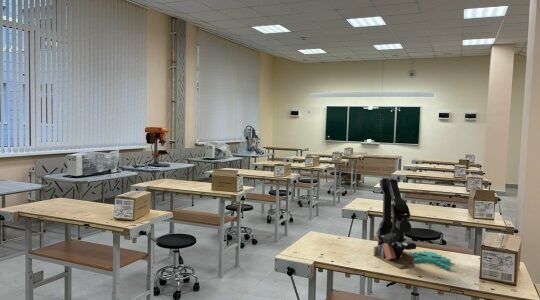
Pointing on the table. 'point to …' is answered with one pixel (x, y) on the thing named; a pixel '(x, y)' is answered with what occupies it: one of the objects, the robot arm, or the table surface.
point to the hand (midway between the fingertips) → (397, 258)
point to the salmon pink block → (389, 251)
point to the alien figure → (431, 259)
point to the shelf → (399, 263)
